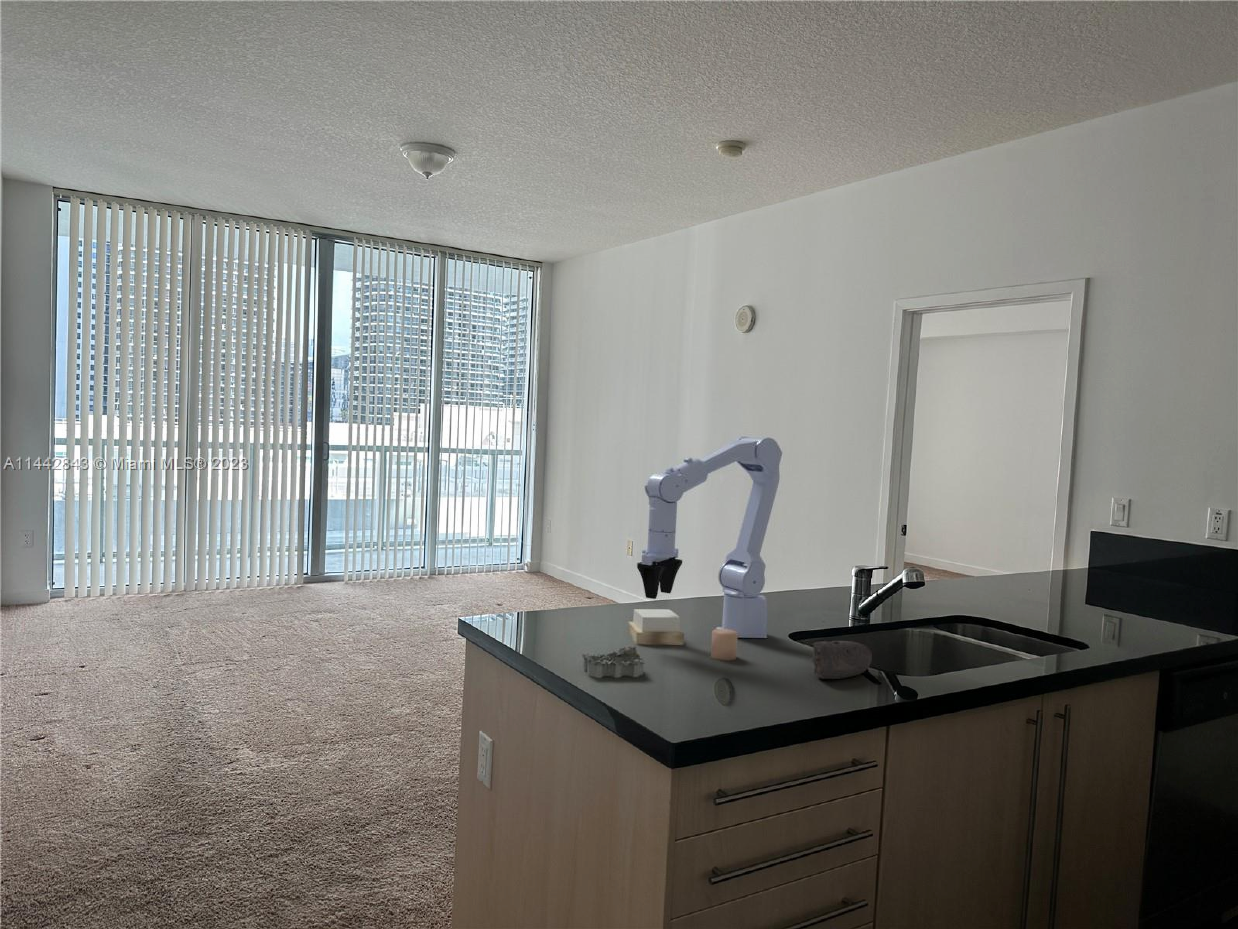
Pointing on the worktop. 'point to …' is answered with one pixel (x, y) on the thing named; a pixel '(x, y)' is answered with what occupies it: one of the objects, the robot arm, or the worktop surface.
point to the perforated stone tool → (840, 659)
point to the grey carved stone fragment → (614, 663)
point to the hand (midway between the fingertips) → (658, 595)
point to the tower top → (656, 620)
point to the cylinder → (724, 644)
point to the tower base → (655, 636)
